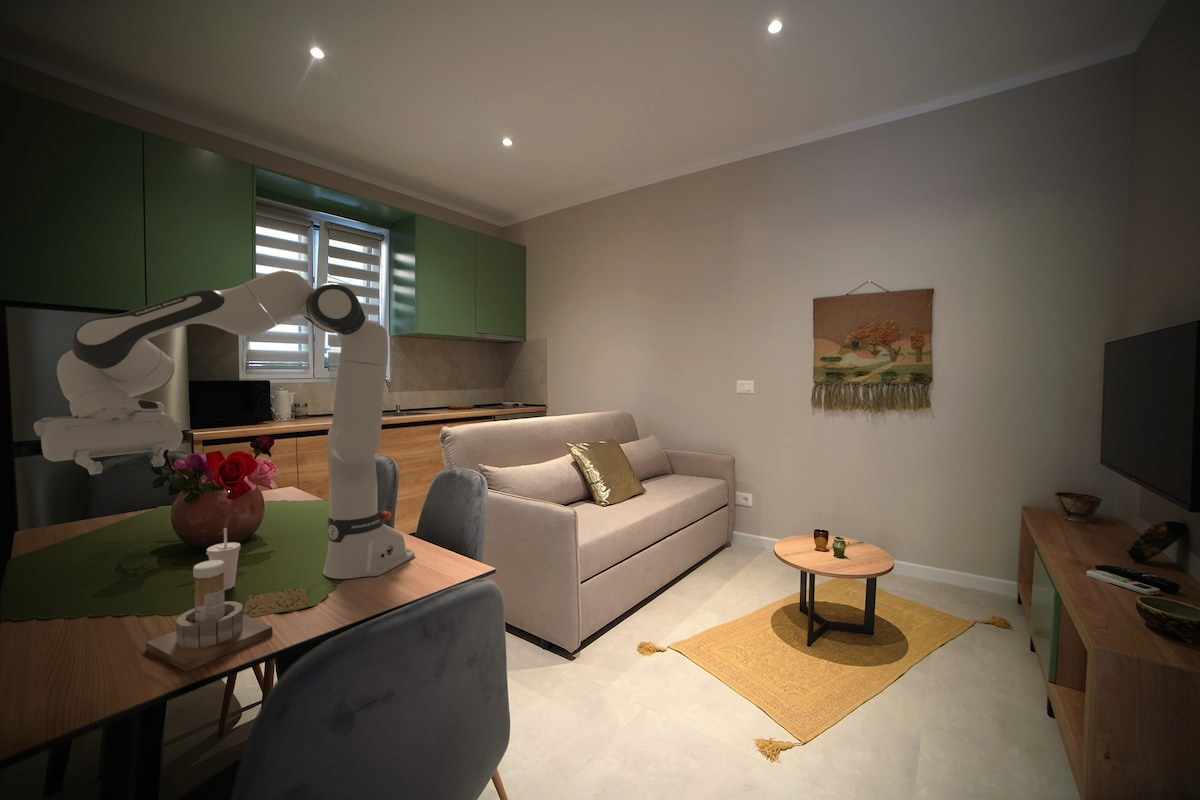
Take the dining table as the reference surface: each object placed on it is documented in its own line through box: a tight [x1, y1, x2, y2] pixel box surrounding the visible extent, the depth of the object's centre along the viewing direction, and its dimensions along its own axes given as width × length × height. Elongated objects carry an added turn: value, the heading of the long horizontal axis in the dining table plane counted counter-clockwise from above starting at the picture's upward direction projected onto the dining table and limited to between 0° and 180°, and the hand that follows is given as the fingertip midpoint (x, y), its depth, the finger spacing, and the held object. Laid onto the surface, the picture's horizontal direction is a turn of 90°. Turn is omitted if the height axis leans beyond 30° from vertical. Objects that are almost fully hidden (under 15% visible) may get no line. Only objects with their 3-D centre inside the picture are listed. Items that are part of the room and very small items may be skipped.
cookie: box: [243, 586, 310, 619], centre depth 110 cm, size 12×12×1 cm
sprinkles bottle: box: [192, 560, 225, 623], centre depth 93 cm, size 5×5×13 cm
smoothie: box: [205, 527, 241, 591], centre depth 116 cm, size 6×6×14 cm
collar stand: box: [145, 600, 274, 673], centre depth 93 cm, size 14×14×6 cm
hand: (129, 468), depth 97 cm, fingers open, 8 cm apart
